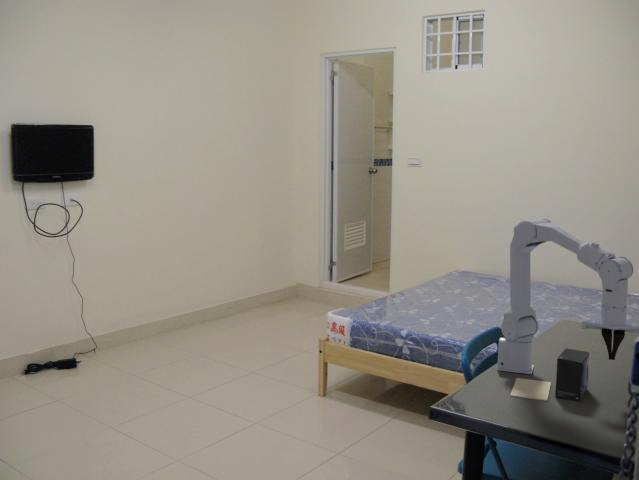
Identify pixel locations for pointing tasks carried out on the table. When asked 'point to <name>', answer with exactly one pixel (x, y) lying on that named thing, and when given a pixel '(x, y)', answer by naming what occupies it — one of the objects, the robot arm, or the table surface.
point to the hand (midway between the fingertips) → (611, 358)
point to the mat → (531, 389)
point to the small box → (572, 374)
